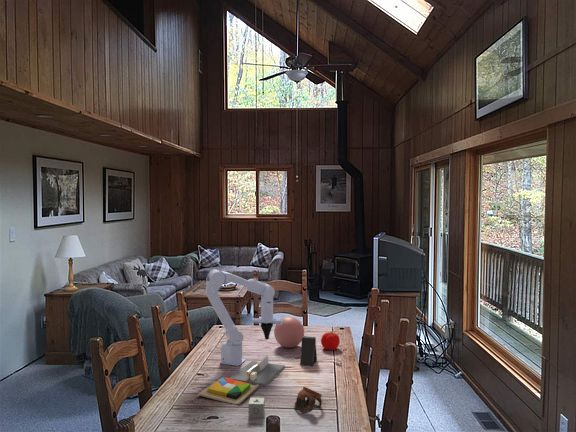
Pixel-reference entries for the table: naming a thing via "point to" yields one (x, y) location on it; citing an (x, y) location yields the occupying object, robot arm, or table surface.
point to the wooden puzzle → (228, 390)
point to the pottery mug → (310, 401)
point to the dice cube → (256, 407)
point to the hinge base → (259, 372)
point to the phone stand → (308, 351)
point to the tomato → (330, 341)
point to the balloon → (289, 332)
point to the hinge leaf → (252, 370)
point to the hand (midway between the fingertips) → (267, 338)
